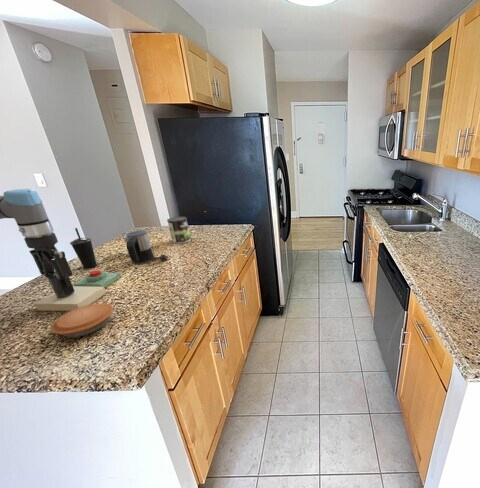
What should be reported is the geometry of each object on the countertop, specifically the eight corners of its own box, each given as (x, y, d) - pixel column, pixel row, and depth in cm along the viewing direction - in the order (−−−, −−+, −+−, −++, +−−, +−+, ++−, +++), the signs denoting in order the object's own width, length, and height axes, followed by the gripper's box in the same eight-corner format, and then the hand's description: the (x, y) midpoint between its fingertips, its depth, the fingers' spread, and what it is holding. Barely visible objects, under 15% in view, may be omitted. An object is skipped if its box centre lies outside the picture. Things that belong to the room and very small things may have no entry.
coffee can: (194, 238, 164) (190, 216, 159) (183, 244, 155) (178, 221, 150) (179, 237, 166) (175, 216, 161) (168, 243, 156) (162, 220, 151)
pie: (49, 330, 85) (42, 318, 83) (106, 306, 97) (101, 295, 95) (63, 350, 77) (57, 336, 75) (123, 321, 89) (119, 309, 87)
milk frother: (135, 257, 137) (127, 231, 131) (169, 252, 144) (162, 227, 138) (130, 269, 125) (121, 240, 120) (168, 262, 132) (161, 235, 126)
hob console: (37, 310, 95) (33, 303, 94) (68, 292, 106) (65, 285, 105) (79, 311, 95) (76, 303, 93) (106, 293, 106) (103, 286, 105)
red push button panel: (74, 288, 109) (71, 280, 107) (95, 276, 118) (92, 269, 117) (102, 288, 109) (99, 280, 107) (120, 277, 118) (118, 269, 116)
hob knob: (54, 299, 96) (45, 280, 93) (58, 293, 100) (50, 274, 97) (72, 295, 98) (64, 276, 95) (75, 289, 102) (68, 271, 99)
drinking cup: (100, 261, 133) (86, 224, 125) (100, 267, 127) (86, 228, 120) (80, 266, 128) (65, 227, 121) (80, 271, 123) (63, 232, 115)
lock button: (88, 277, 110) (87, 273, 110) (95, 273, 114) (94, 269, 113) (96, 277, 110) (95, 273, 110) (103, 273, 114) (102, 269, 113)
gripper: (6, 236, 89) (35, 293, 98) (44, 240, 85) (70, 300, 93) (34, 229, 96) (58, 283, 104) (70, 233, 91) (92, 289, 100)
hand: (64, 291), depth 99 cm, fingers closed on hob knob, 5 cm apart
